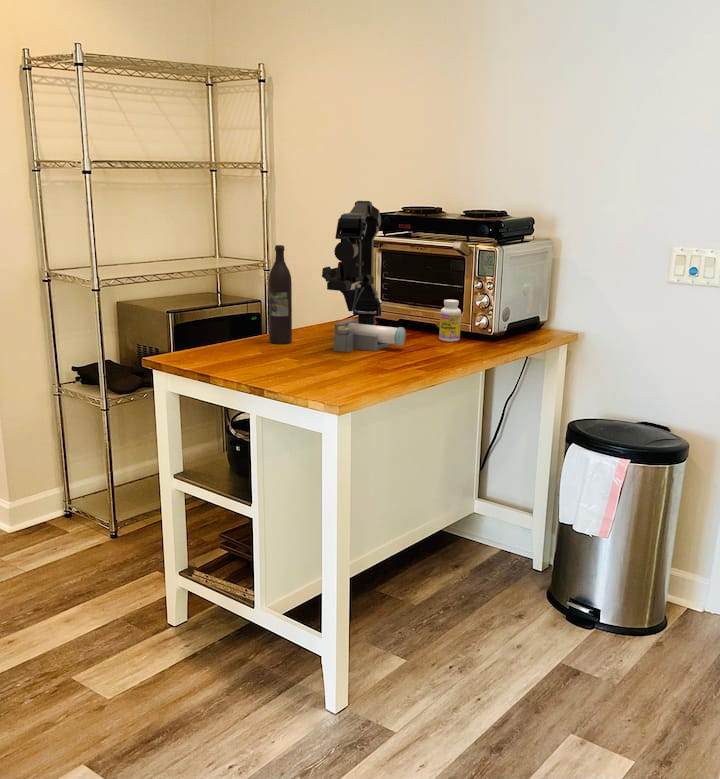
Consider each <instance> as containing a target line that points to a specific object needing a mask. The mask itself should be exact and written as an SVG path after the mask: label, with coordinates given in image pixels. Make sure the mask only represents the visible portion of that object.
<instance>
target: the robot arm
mask: <svg viewBox="0 0 720 779" xmlns="http://www.w3.org/2000/svg"><path fill="white" fill-rule="evenodd" d="M381 225H382V216H381V212H380V210H379V209H378V208H376V207H375V206H374V205H373V202H372V201H370V200H356V201H355V202H354V205H353V207H352V209H351V210H350V212H347V213H345V212H344V213H343V214H341V215H340V217H339V218H338V220H337V225H336V230H335V231H336V232H335V240H340V242H338V243H337V244H336V246H335V247H334V256H335V258H336V259H337V260H338V261H339V262H338V263H337V267H334V268H331V266H326V267H322V272H321V278H323V279H324V280H325V282H326V290H329V291H337V292H338V291H339V292H340V293H342V295H343V297H344V301H345V304H346V307H347V310H348V312H352V315H353V316H357V324H366V325H375V326H376V317H380V316H382V303H381V300H380V298H379V297H378V290H377V288H376V287H375V282H374V280H375V278H374V245H375V244H374V243H375V242H374V240H375V238H376V236H377V235H378V233H379V232H380V227H381Z"/></svg>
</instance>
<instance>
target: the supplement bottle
mask: <svg viewBox="0 0 720 779" xmlns="http://www.w3.org/2000/svg"><path fill="white" fill-rule="evenodd" d="M459 303H460V302H459V300H457V299H444V300H443V305H444V307H442V308H441V309H440V313H439V314H440V315H439V316H440V317H439V334H438V338H439V340H440V341H443V342H449V343H450V342H453V343H454V341H455V342H458V341H459V340H460V339H461V325H462V324H461V323H462V322H461V321H462V311H461V309H460V308H459V307H458V306H459V305H460V304H459Z"/></svg>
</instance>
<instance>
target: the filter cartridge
mask: <svg viewBox="0 0 720 779" xmlns="http://www.w3.org/2000/svg"><path fill="white" fill-rule="evenodd" d="M348 327H349V333H357V334H366V335H375V336H378V342H380V343H388V344H389V345H396V346H398V347H399V346H400V347H402V346H403V345H404V344H405V341H406V329H405V327H402V326H399V327H393V326H383V325H376V324H375V325H366V324H358V322H357V323H349V325H348Z"/></svg>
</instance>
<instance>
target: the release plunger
mask: <svg viewBox="0 0 720 779" xmlns="http://www.w3.org/2000/svg"><path fill="white" fill-rule="evenodd" d="M338 334H339V335H348V334H349V327H348V326H339V327H338Z"/></svg>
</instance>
